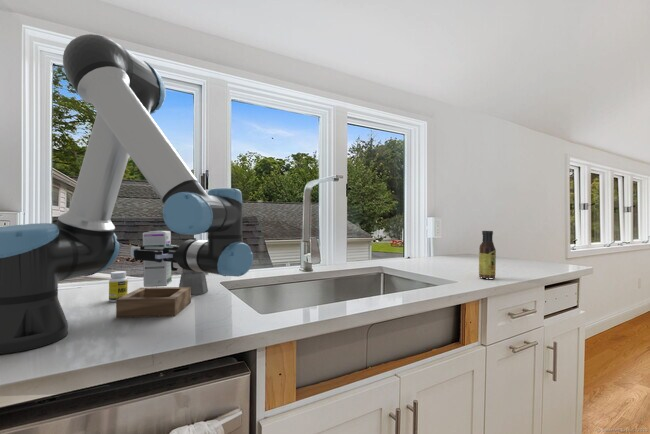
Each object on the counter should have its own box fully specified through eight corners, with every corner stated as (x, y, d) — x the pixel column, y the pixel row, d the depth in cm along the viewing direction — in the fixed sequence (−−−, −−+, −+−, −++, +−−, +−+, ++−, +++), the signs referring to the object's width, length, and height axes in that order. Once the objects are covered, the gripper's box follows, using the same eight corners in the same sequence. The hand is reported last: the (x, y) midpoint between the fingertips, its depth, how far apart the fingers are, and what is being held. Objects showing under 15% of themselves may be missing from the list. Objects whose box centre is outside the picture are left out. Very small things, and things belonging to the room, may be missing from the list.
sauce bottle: (494, 280, 139) (495, 231, 139) (477, 279, 143) (478, 230, 143) (496, 278, 145) (496, 230, 145) (479, 276, 148) (480, 230, 148)
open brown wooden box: (174, 316, 87) (174, 298, 87) (116, 317, 86) (116, 299, 86) (190, 302, 101) (190, 287, 101) (140, 303, 100) (140, 287, 100)
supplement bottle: (118, 302, 100) (118, 273, 100) (104, 301, 101) (104, 273, 101) (131, 298, 105) (131, 271, 105) (117, 298, 106) (117, 270, 106)
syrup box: (166, 286, 91) (166, 231, 91) (142, 287, 90) (142, 231, 90) (171, 282, 97) (171, 230, 97) (148, 283, 96) (148, 230, 96)
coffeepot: (214, 288, 121) (214, 236, 121) (214, 294, 112) (214, 238, 112) (165, 291, 116) (166, 237, 116) (161, 297, 107) (162, 239, 107)
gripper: (157, 277, 75) (107, 268, 88) (232, 266, 92) (181, 259, 105) (157, 243, 75) (107, 239, 88) (232, 237, 92) (181, 235, 105)
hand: (148, 250), depth 96 cm, fingers closed on syrup box, 8 cm apart
